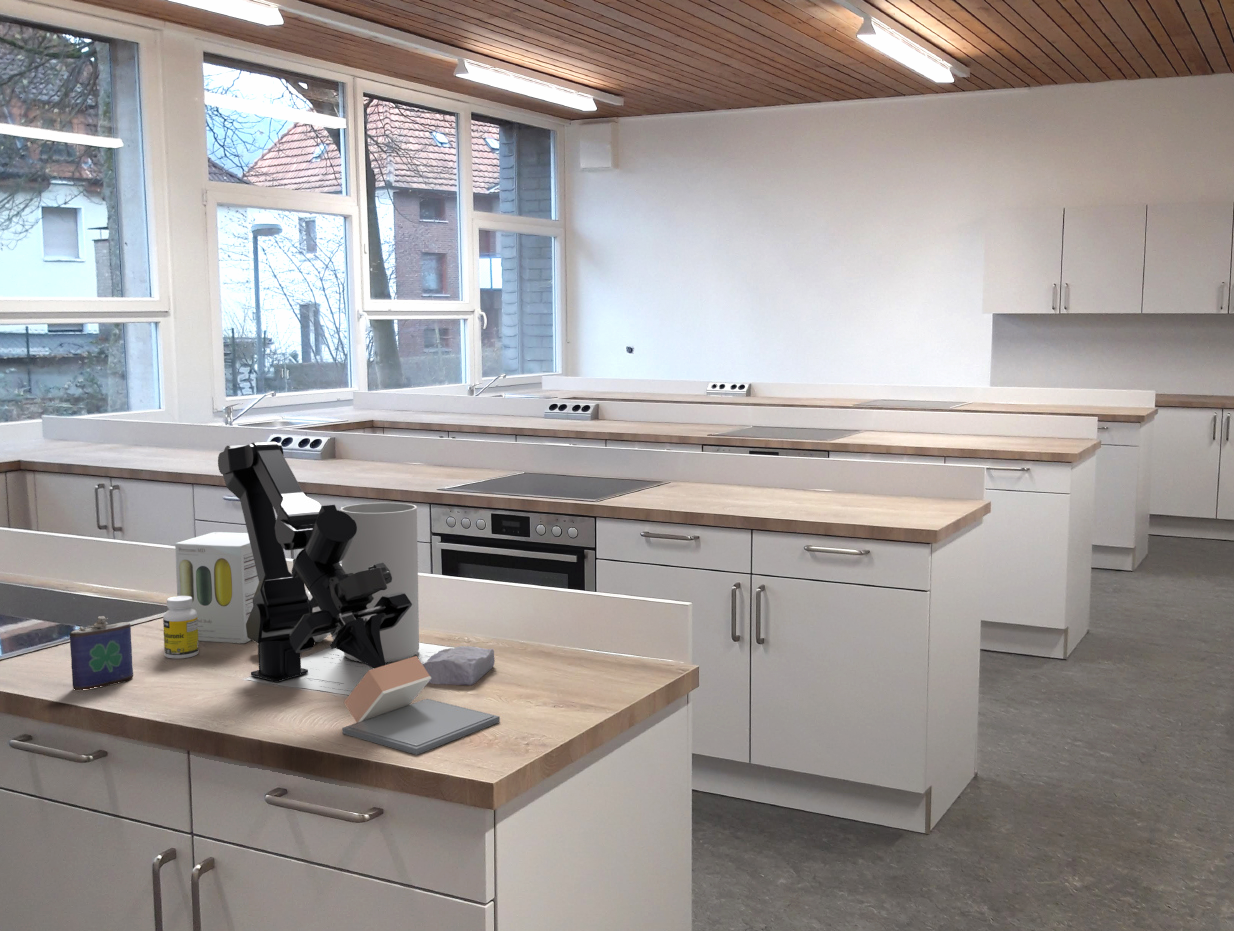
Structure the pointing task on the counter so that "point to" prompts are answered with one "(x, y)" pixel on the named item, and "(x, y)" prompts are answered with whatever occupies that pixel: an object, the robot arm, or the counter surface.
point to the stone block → (459, 665)
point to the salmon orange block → (387, 688)
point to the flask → (101, 654)
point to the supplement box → (218, 583)
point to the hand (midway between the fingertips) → (382, 668)
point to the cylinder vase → (389, 566)
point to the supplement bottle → (180, 628)
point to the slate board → (421, 726)
